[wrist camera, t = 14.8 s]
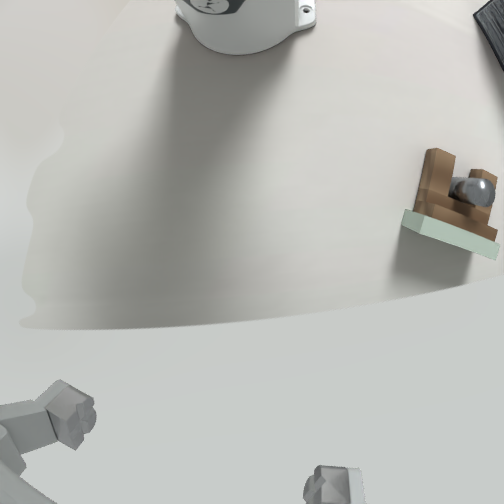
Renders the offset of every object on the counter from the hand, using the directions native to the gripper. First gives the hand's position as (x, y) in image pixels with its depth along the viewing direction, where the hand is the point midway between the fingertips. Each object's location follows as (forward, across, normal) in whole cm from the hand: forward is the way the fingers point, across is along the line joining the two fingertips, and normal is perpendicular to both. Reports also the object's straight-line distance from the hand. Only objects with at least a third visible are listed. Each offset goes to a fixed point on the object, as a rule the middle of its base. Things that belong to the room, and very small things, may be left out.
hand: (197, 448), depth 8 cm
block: (+29, -21, -13) cm, 38 cm away
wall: (+29, -21, -8) cm, 37 cm away
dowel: (+29, -21, -14) cm, 38 cm away
